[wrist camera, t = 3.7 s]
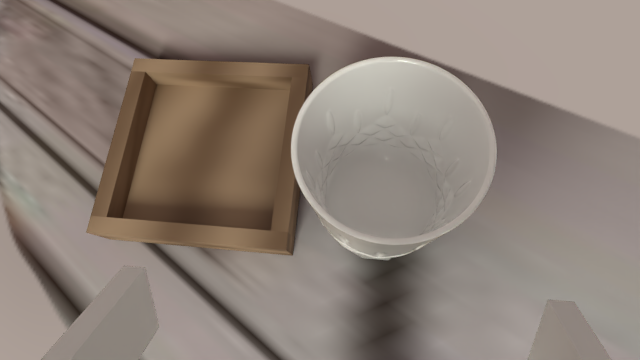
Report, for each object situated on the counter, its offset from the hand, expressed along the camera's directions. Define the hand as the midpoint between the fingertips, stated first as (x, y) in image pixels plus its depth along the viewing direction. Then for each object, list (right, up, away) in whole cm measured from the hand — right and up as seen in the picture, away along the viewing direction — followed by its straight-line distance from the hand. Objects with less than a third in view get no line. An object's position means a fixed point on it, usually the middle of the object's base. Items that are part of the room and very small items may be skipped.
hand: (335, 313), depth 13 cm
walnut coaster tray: (-8, +6, +13) cm, 17 cm away
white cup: (+3, +3, +12) cm, 12 cm away
